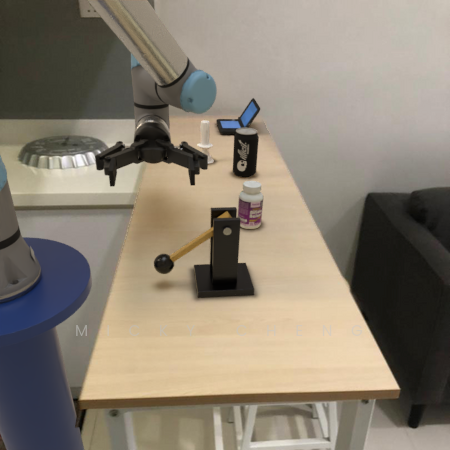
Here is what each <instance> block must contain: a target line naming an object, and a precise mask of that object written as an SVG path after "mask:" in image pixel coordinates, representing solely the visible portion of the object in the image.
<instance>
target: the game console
mask: <svg viewBox="0 0 450 450" xmlns="http://www.w3.org/2000/svg"><path fill="white" fill-rule="evenodd" d="M260 111H261V106H260V105H259V104H258V101H256V99H255V98H254V97H253V98H251V99H250V100H249V102H248V104H247V105H246V106H245V108H244V110H243V112H242V113H241V114H240V116H238V117H237V118H218V119H216V121H215V122H216V125H217V129H218V131H219V134H220V135H235V133H236V129H238V128H250V126H251V124H252V123H253V121H255V119H256V117H257V116H258V114H259V113H260Z"/></svg>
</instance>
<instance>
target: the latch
mask: <svg viewBox="0 0 450 450" xmlns="http://www.w3.org/2000/svg"><path fill="white" fill-rule="evenodd" d="M217 218H232V217H231V215H230V214H229V213H228V211H226V212H225V213H223V214H222V215H220V216H219V217H217ZM212 236H213V227H212V228H210V227H209V229H207V230H206V231H204V232H203V233H201V234H200V235H198V236H196V237H195V238H193V239H192V240H191V241H189V242H188V243H186V244H185V245H183V246H182V247H180V248H179V249H176V251H174V252H173V253H171V254H168V253H160V254H158V255H157V256H156V257H155V258H154V260H153V267H154V269H155V271H156V272H157V273H159V274H161V275H168V274H169V273H171V272H172V271H173V270H174V268H175V262H176V261H178V260H179V259H181V258H182V257H184V256H185V255H187V254H188V253H190V252H191V251H192V250H195V249H196V248H197V247H198V246H200V245H202V244H203V243H205V242H206V241H207V240H210V238H211V237H212Z"/></svg>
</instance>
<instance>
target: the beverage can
mask: <svg viewBox="0 0 450 450" xmlns="http://www.w3.org/2000/svg"><path fill="white" fill-rule="evenodd" d="M259 136H260V135H259V134H258V130H257V129H256V128H253V127H248V128H238V129H236V133H235V134H233V155H232V156H233V157H232V173H233V174H234V175H235V176H236V177H237V178H244V179H245V178H252V177H253V176H255V175H256V173H257V165H258V151H259V138H260V137H259Z"/></svg>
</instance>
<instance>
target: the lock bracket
mask: <svg viewBox="0 0 450 450" xmlns="http://www.w3.org/2000/svg"><path fill="white" fill-rule="evenodd" d="M226 211H228V213H229V214H230V215H231V217H232V218H217V217H219V216H220V215H222V214H223V213H225V212H226ZM240 222H241V220H240V217H238V207H236V206H226V207H225V206H224V207H223V206H221V207H210V226H209V229H210V228H212V227H213V236H212V237H211V238H209V263H203V264H202V263H200V264H193V274H194V280H195V287H196V288H195V289H196V294H197V298H218V297H237V296H254V295H255V287H254V284H253V281H252V278H251V275H250V272H249V268H248V265H247V262H239V257H240V255H239V254H240V240H241V239H240V237H241V227H240Z"/></svg>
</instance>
